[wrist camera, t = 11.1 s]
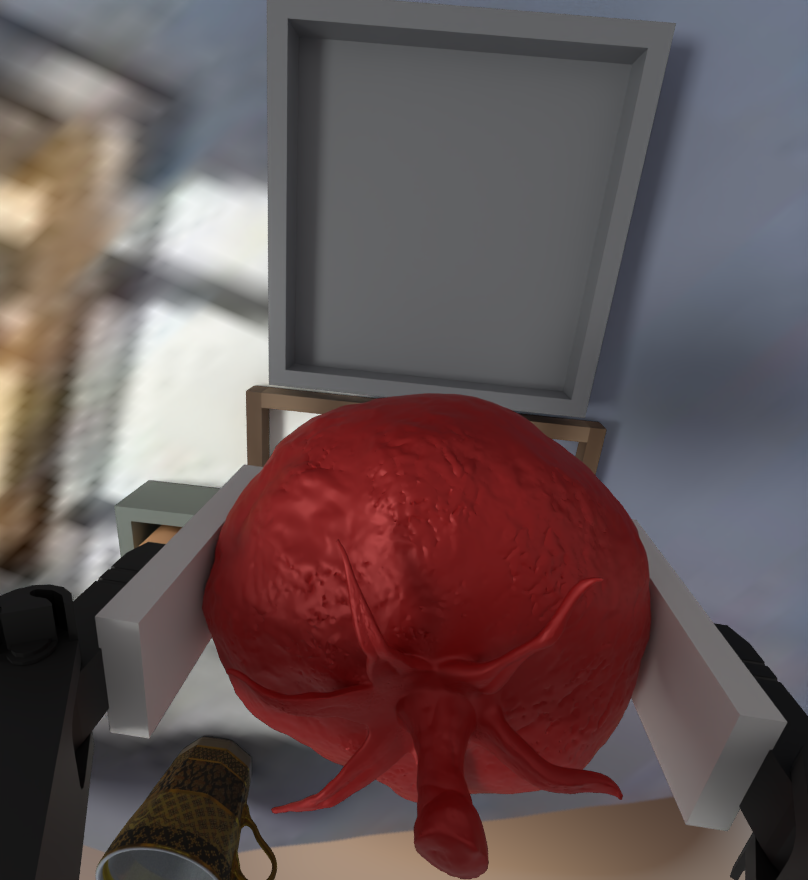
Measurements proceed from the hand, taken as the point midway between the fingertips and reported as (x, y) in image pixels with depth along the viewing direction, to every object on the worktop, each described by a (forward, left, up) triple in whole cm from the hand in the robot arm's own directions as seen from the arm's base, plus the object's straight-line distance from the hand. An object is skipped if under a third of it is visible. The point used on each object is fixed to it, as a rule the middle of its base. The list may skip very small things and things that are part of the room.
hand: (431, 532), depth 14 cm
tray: (-1, +9, -18) cm, 21 cm away
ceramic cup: (-15, -38, -19) cm, 44 cm away
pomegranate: (0, 0, -1) cm, 1 cm away
